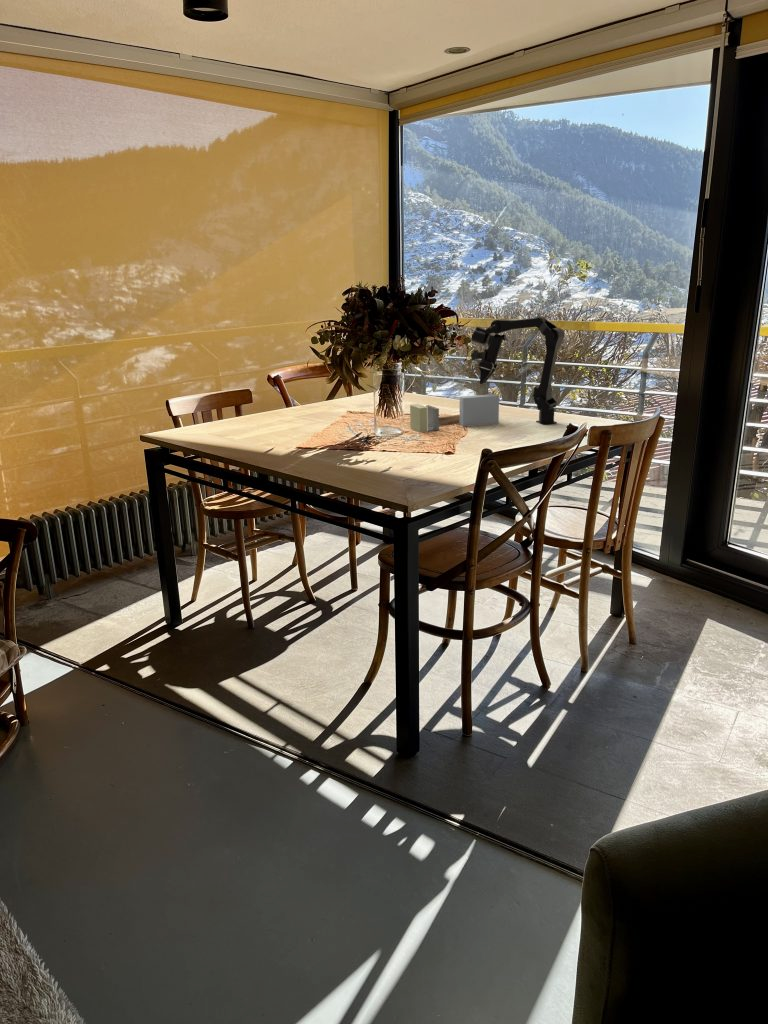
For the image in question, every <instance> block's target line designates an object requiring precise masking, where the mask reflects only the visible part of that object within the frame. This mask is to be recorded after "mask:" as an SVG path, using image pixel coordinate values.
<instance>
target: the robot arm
mask: <svg viewBox="0 0 768 1024" xmlns="http://www.w3.org/2000/svg"><path fill="white" fill-rule="evenodd" d="M528 328H537V329H538V330H539V332H540V333H541V334H542V335H543V336H544V338H545V340H544V344H545V348H546V350H545V351H546V352H545V356H544V363H543V367H542V372H541V378H540V383H539V384H538V385H536V386H534V388H533V394H532V397H533V402H534V404H535V405H536V406H537V407H536V408H537V410H538V413H539V414H538V420H536V421H535V422H536V423H539V424H541V425H553V424H557V422H558V421H555V409H554V408H556V407H557V405H558V402H557V400H556V399H555V398H554V397H553V387H552V381H553V376H554V372H555V366H556V360H557V355H558V351H559V349H560V347H561V345H562V343H563V341H564V339H565V331H564V330H563V329H562V327H561V328H560V327H557V326H556V325H555V324H554V323H553V322H551V321H549V320H548V319H547V318H546V317H545V316H537V317H532V318H522V319H509V318H499V319H498V318H497V319H494V320H492V322H491V323H490V326H488V327H487V329H486V328H483V327H481V326H476V327H475V330H474V331H473V333H472V335H471V341H472V343H475V344H479V345H482V346H486V348H485V349H484V350H483V351H479V350H478V349H477V350H473V351H472V352H470V360H471V361H475V360H480V361H478V364H477V366H478V367H477V368H478V370H479V373H480V374H479V375H480V377H479V384H480V385H483V384H486V383H487V381H488V380H489V379H490V378H491V377H492V375H493V374H494V373H495V371H497V370H496V369H498V365H499V363H498V362H497V360H498V356H499V355H500V351H501V347H502V344H503V341H507V342H508V341H509V339H508V337H507V334H502V333H505V332H506V333H507V332H509V331H513V330H518V329H528ZM492 334H494V335H492Z"/></svg>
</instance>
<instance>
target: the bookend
mask: <svg viewBox="0 0 768 1024" xmlns="http://www.w3.org/2000/svg"><path fill="white" fill-rule="evenodd" d="M425 406H426V407H428V432H434V431H435V432H436V431H439V430H440V425H439V417H440V408H437V407H436V406H432V405H429V404H428V405H425Z"/></svg>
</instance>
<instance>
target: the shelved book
mask: <svg viewBox="0 0 768 1024" xmlns="http://www.w3.org/2000/svg"><path fill="white" fill-rule="evenodd" d="M409 413H410V414H409V418H410V419H409V420H410V424H409V425H410V430H413V431H415V432H418V433H428V432H429V431H428V407H426V405H424V404H420V403H416V404H410V405H409Z"/></svg>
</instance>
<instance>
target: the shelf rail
mask: <svg viewBox="0 0 768 1024" xmlns="http://www.w3.org/2000/svg"><path fill="white" fill-rule="evenodd" d="M459 421H460V414H455V415H445V416H444V415H443V416H439V426H442V425H451V424H459Z"/></svg>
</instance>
